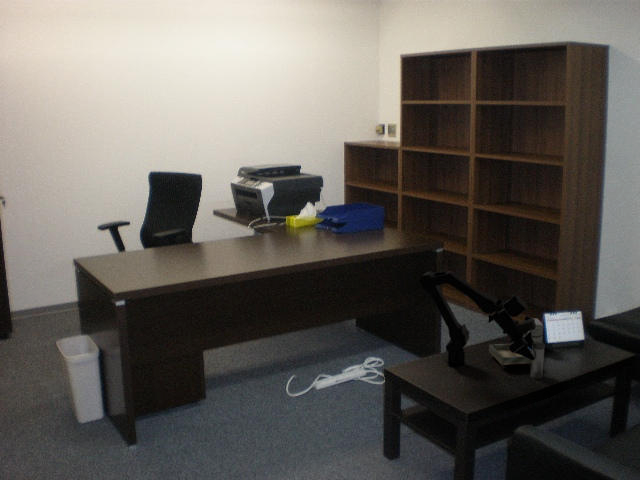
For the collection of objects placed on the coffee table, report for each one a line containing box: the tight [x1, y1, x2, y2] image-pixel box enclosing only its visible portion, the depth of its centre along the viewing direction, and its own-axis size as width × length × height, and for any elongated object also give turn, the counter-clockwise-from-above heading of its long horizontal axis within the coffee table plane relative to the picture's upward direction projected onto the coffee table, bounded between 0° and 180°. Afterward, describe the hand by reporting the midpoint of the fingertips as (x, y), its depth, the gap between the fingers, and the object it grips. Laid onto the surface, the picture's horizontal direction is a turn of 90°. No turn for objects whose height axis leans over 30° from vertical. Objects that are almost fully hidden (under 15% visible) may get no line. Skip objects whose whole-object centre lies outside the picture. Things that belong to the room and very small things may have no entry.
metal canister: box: [529, 342, 546, 380], centre depth 248 cm, size 5×5×13 cm
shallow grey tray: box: [488, 343, 532, 369], centre depth 262 cm, size 14×14×5 cm
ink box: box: [528, 317, 544, 351], centre depth 277 cm, size 8×5×12 cm, turn 179°
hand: (535, 355), depth 248 cm, fingers open, 9 cm apart
